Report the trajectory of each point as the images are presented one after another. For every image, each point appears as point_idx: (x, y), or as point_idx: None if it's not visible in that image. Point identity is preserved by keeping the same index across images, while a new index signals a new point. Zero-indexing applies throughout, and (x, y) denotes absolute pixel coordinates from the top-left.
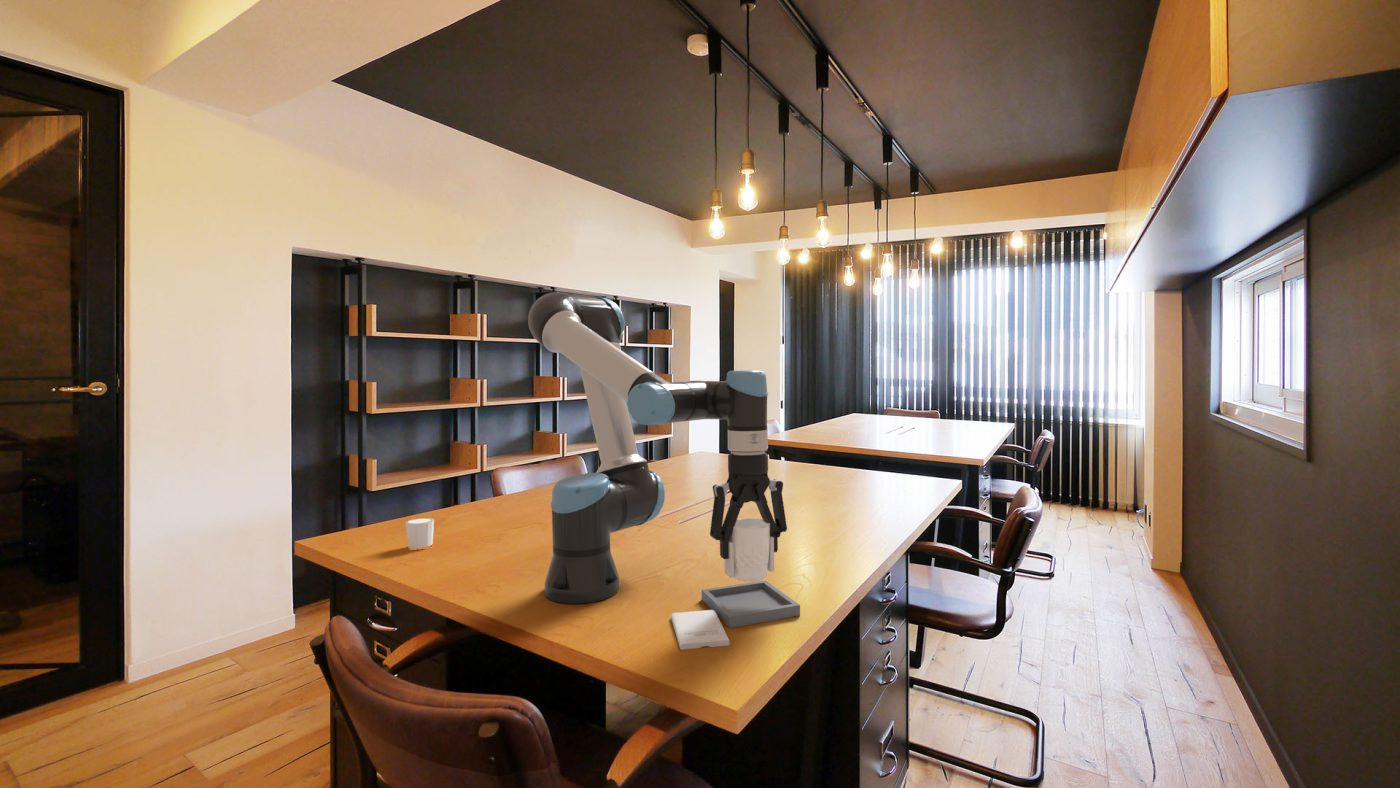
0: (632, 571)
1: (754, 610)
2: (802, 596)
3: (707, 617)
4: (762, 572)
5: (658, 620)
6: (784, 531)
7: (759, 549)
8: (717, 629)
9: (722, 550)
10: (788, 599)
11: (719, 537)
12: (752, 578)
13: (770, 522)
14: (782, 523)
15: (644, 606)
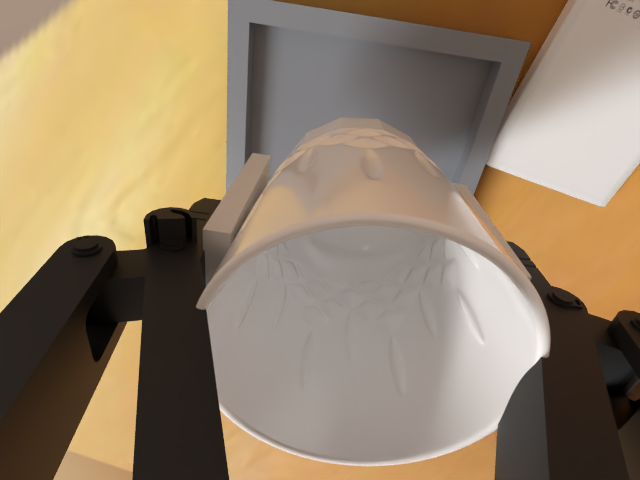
0: (454, 454)
1: (415, 45)
2: (149, 141)
3: (549, 121)
4: (341, 124)
5: (632, 209)
6: (97, 237)
7: (372, 152)
8: (600, 10)
9: (536, 273)
10: (240, 71)
11: (627, 320)
12: (391, 128)
13: (186, 308)
14: (74, 277)
15: (584, 300)
